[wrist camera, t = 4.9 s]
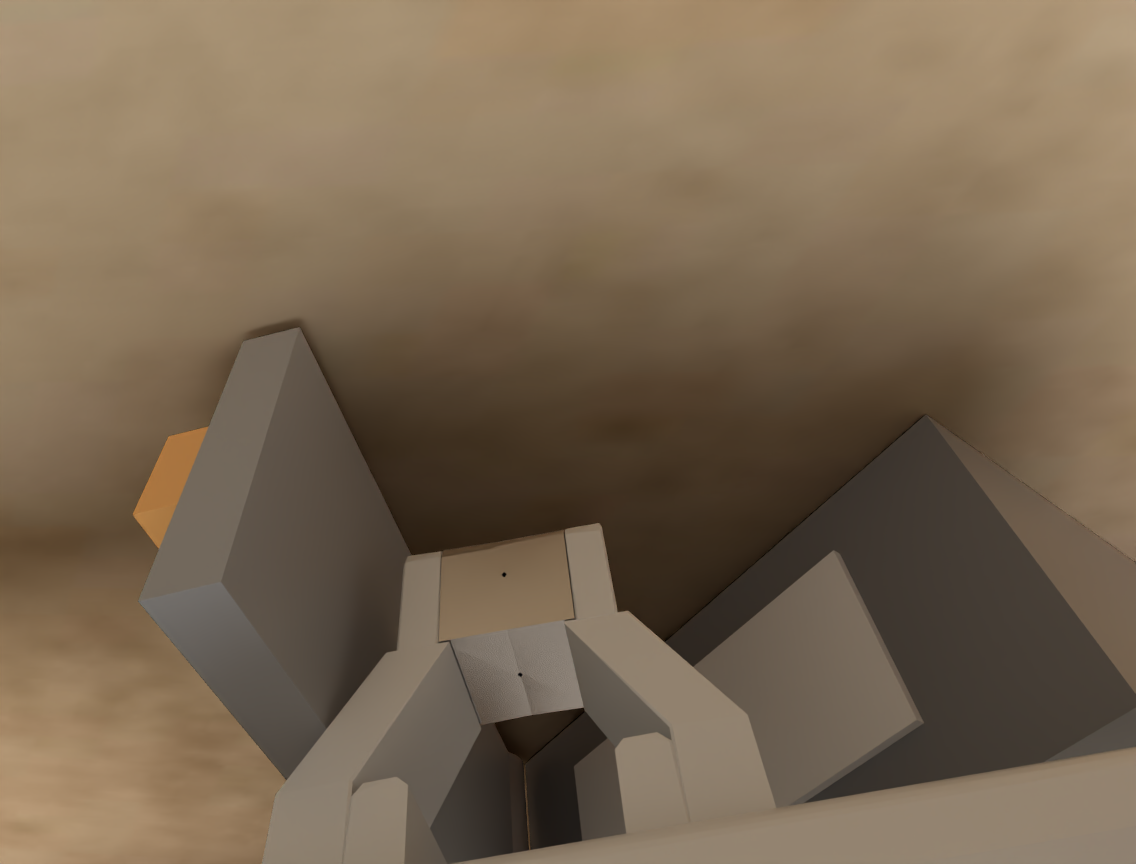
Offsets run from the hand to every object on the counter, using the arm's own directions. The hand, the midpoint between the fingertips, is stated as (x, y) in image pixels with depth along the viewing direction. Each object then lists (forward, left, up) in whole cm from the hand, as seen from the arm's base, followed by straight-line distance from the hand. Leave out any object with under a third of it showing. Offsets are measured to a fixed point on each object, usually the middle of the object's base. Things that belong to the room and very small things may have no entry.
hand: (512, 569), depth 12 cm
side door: (0, +4, -2) cm, 4 cm away
